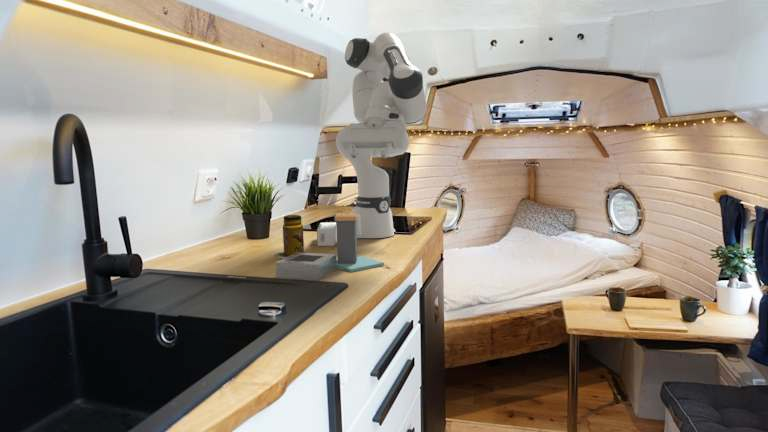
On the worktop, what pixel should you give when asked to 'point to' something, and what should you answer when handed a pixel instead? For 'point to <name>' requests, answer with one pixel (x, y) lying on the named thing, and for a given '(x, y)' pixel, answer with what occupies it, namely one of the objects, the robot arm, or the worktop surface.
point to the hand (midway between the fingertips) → (368, 156)
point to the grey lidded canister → (346, 238)
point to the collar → (306, 266)
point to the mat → (360, 264)
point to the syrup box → (327, 234)
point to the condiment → (292, 236)
